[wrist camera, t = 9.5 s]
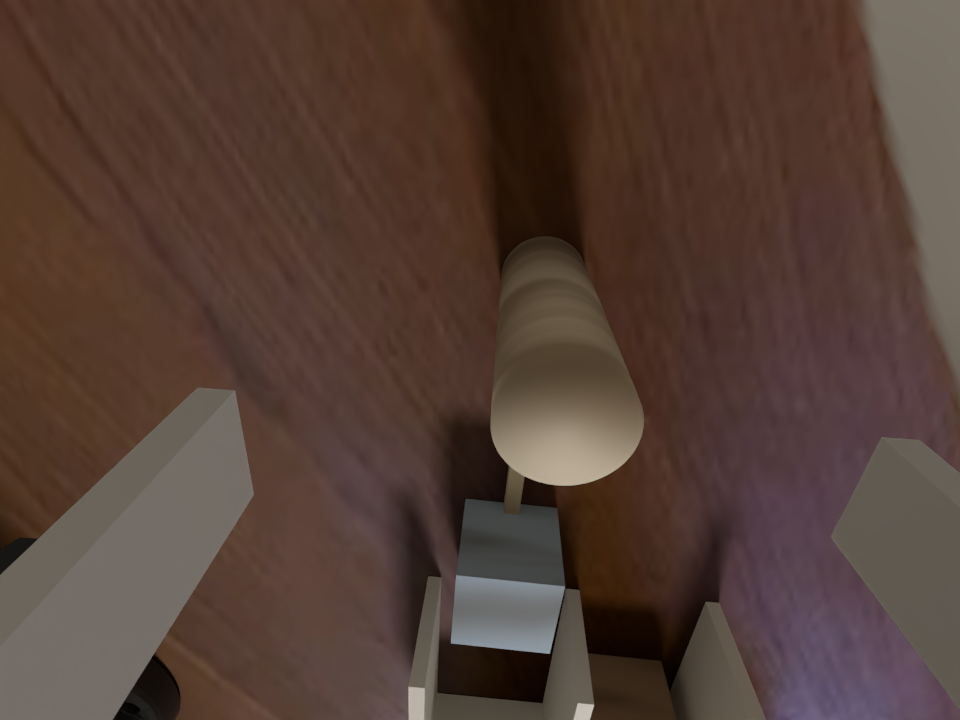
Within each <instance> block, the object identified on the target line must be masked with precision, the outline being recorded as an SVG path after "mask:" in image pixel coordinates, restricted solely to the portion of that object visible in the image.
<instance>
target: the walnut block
mask: <svg viewBox="0 0 960 720" xmlns="http://www.w3.org/2000/svg"><path fill="white" fill-rule="evenodd" d="M588 660H589V668H590V676H591V683H592V691H593V699H594V708H593V711H592V714H591V718H590V720H676V716H675V712H674V708H673V704H672V700H671V696H670V692H669V688H668V684H667V681H666V677H665V673H664V669H663V665H662V661H657V660H647V659H638V658H628V657H618V656H609V655H599V654H590V653H588Z"/></svg>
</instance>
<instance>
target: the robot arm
mask: <svg viewBox="0 0 960 720" xmlns="http://www.w3.org/2000/svg"><path fill="white" fill-rule="evenodd" d="M253 495H254V493H253V487H252V482H251V476H250V471H249V465H248V459H247V454H246V448H245V443H244V437H243V432H242V426H241V421H240V415H239V410H238V404H237V399H236V393H235V390H222V389H208V388H197V389H196V390H195V391H194V392H193V393H191V394H190V395H189V396H188V397H187V398H186V399H185V400H184V401H183V402H182V403H181V404H180V405H179V406H178V407H177V408H176V409H175V410H174V411H173V412H171V413H170V414H169V415H168V416H167V417H166V418H165V419H164V420H163V421H162V422H161V423H160V424H159V425H158V426H157V427H156V428H155V429H154V430H152V431H151V432H150V433H149V434H148V435H147V436H146V437H145V438H144V439H143V440H142V441H141V442H140V443H139V444H138V445H137V446H136V447H135V448H134V449H132V450H131V451H130V452H129V453H128V454H127V455H126V456H125V457H124V458H123V459H122V460H121V461H120V462H119V463H118V464H117V465H116V466H115V467H113V468H112V469H111V470H110V471H109V472H108V473H107V474H106V475H105V476H104V477H103V478H102V479H101V480H100V481H99V482H98V483H97V484H96V485H94V486H93V487H92V488H91V489H90V490H89V491H88V492H87V493H86V494H85V495H84V496H83V497H82V498H81V499H80V500H79V501H78V502H77V503H76V504H74V505H73V506H72V507H71V508H70V509H69V510H68V511H67V512H66V513H65V514H64V515H63V516H62V517H61V518H60V519H59V520H58V521H57V522H55V523H54V524H53V525H52V526H51V527H50V528H49V529H48V530H47V531H46V532H45V533H44V534H43V535H42V536H41V537H40V538H39V539H33V538H19V539H17V540H15V541H13V542H12V543H10V544H8V545H7V546H5V547H3V548H2V549H0V720H175V719H176V717H177V715H178V713H179V709H180V697H179V693H178V690H177V688H176V686H175V684H174V682H173V680H172V679H171V677H170V676H169V675H168V674H167V672H166V671H165V670H164V669H163V668H162V667H161V666H160V665H159V664H158V663H157V662H156V661H155V660H153V659H152V656H153V655H154V653H155V651H156V650H157V648H158V647H159V645H160V643H161V642H162V640H163V639H164V637H165V635H166V634H167V632H168V631H169V629H170V627H171V626H172V624H173V623H174V621H175V620H176V618H177V616H178V615H179V613H180V612H181V610H182V608H183V607H184V605H185V604H186V602H187V600H188V599H189V597H190V596H191V594H192V592H193V591H194V589H195V588H196V586H197V584H198V583H199V581H200V580H201V578H202V576H203V575H204V573H205V572H206V570H207V569H208V567H209V565H210V564H211V562H212V561H213V559H214V557H215V556H216V554H217V553H218V551H219V549H220V548H221V546H222V545H223V543H224V541H225V540H226V538H227V537H228V535H229V533H230V532H231V530H232V529H233V527H234V525H235V524H236V522H237V521H238V519H239V518H240V516H241V514H242V513H243V511H244V510H245V508H246V506H247V505H248V503H249V502H250V500H251V498H252V497H253ZM831 538H832V540H833V541H834V542H835V544H836V545H837V546H838V548H839V549H840V550H841V552H842V553H843V554H844V556H845V557H846V558H847V560H848V561H849V562H850V564H851V565H852V566H853V568H854V569H855V570H856V572H857V573H858V574H859V576H860V577H861V578H862V580H863V581H864V582H865V584H866V585H867V586H868V588H869V589H870V590H871V592H872V593H873V594H874V596H875V597H876V598H877V600H878V601H879V602H880V604H881V605H882V606H883V608H884V609H885V611H886V612H887V613H888V615H889V616H890V617H891V619H892V620H893V621H894V623H895V624H896V625H897V627H898V628H899V629H900V631H901V632H902V633H903V635H904V636H905V637H906V639H907V640H908V641H909V643H910V644H911V645H912V647H913V648H914V649H915V651H916V652H917V653H918V655H919V656H920V657H921V659H922V660H923V661H924V663H925V664H926V665H927V667H928V668H929V669H930V671H931V672H932V673H933V675H934V676H935V677H936V679H937V680H938V681H939V683H940V684H941V685H942V687H943V688H944V689H945V691H946V692H947V693H948V695H949V696H950V697H951V699H952V700H953V701H954V703H955V704H956V705H957V707H958V708H959V709H960V473H959V472H958V471H957V470H955V469H954V468H953V467H952V466H950V465H949V464H948V463H947V462H946V461H944V460H943V459H942V458H941V457H939V456H938V455H937V454H936V453H935V452H933V451H932V450H931V449H930V448H928V447H927V446H926V445H925V444H924V443H922V442H921V441H920V440H911V439H897V438H884V437H881V439H880V441H879V443H878V445H877V447H876V449H875V451H874V453H873V455H872V457H871V459H870V461H869V463H868V465H867V467H866V469H865V471H864V473H863V474H862V476H861V478H860V480H859V482H858V484H857V486H856V488H855V490H854V492H853V494H852V496H851V498H850V500H849V502H848V504H847V506H846V508H845V510H844V512H843V514H842V516H841V518H840V520H839V522H838V524H837V526H836V528H835V530H834V532H833V534H832V535H831Z"/></svg>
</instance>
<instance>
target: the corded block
mask: <svg viewBox="0 0 960 720" xmlns="http://www.w3.org/2000/svg"><path fill="white" fill-rule="evenodd" d="M643 427H644V416H643V409H642V406H641V402H640V400H639V397H638V395H637V392H636V390H635V387H634V385H633V382H632V380H631V377H630V375H629V373H628V370H627V368H626V365H625V363H624V360H623V358H622V355H621V353H620V350H619V348H618V345H617V343H616V341H615V338H614V336H613V333H612V331H611V328H610V326H609V323H608V321H607V318H606V316H605V313H604V311H603V309H602V306H601V304H600V301H599V299H598V296H597V294H596V291H595V289H594V286H593V284H592V281H591V279H590V277H589V274H588V272H587V269H586V267H585V264H584V262H583V260H582V257H581V256H580V254H579V253H578V251H577V250H576V249H575V248H574V247H573V246H572V245H571V244H569V243H567V242H566V241H564V240H562V239H559V238H556V237H551V236H539V237H534V238H531V239H528V240H526V241H524V242H522V243H520V244H519V245H518V246H516V247H515V248H514V249H513V250H512V251H511V252H510V254H509V255H508V256H507V258H506V260H505V262H504V264H503V268H502V272H501V284H500V297H499V311H498V325H497V339H496V353H495V366H494V380H493V394H492V408H491V425H490V428H491V436H492V439H493V443H494V445H495V447H496V449H497V451H498V453H499V454H500V456H501V457H502V459H503V460H504V461H505V462H506V463H507V464H508V465H509V468H508V476H507V483H506V491H505V499H504V503H503V502H494V501H484V500H474V499H465V507H464V516H463V524H462V532H461V540H460V549H459V557H458V565H457V574H456V585H455V597H454V610H453V622H452V634H451V643H452V644H461V645H471V646H480V647H489V648H499V649H508V650H518V651H527V652H537V653H546V654H550V651H551V647H552V642H553V638H554V633H555V629H556V625H557V620H558V616H559V612H560V607H561V603H562V599H563V594H564V590H565V579H564V569H563V559H562V550H561V540H560V530H559V521H558V511H557V508H553V507H543V506H533V505H523V504H520V503H521V497H522V490H523V484H524V477H527V478H529V479H532V480H534V481H537V482H541V483H545V484H550V485H560V486H568V485H579V484H584V483H588V482H592V481H595V480H597V479H600V478H602V477H604V476H606V475H608V474H610V473H612V472H613V471H615V470H616V469H618V468H619V467H620V466H621V465H623V464H624V463H625V462H626V461H627V460H628V459H629V457H630V456H631V455H632V454H633V452H634V451H635V449H636V447H637V445H638V444H639V441H640V439H641V436H642V432H643Z"/></svg>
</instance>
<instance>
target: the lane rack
mask: <svg viewBox="0 0 960 720" xmlns="http://www.w3.org/2000/svg"><path fill="white" fill-rule="evenodd" d="M440 602H441V577H433V576H428V580H427V586H426V591H425V597H424V603H423V608H422V614H421V620H420V625H419V631H418V636H417V642H416V648H415V653H414V659H413V665H412V670H411V676H410V681H409V720H590V718H591V714H592V711H593V708H594V699H593V691H592V683H591V676H590V668H589V660H588V653H587V645H586V637H585V630H584V622H583V614H582V607H581V599H580V591H579V590H574V589H566V591H565V596H564V601H563V606H562V611H561V615H560V620H559V625H558V630H557V635H556V640H555V645H554V650H553V654H552V659H551V664H550V669H549V674H548V679H547V684H546V689H545V694H544V698H543V703H535V702H525V701H514V700H504V699H494V698H484V697H473V696H463V695H453V694H442V693H437V684H438V656H439V629H440ZM670 696H671V700H672V704H673V708H674V712H675V716H676V720H766V719H765V716H764V714H763V711H762V709H761V706H760V704H759V701H758V699H757V696H756V694H755V691H754V689H753V686H752V684H751V681H750V679H749V676H748V674H747V671H746V669H745V666H744V664H743V661H742V659H741V656H740V654H739V651H738V649H737V646H736V644H735V641H734V639H733V636H732V634H731V631H730V629H729V626H728V624H727V621H726V619H725V616H724V614H723V611H722V609H721V606H720V604H719V603H716V602H705V604H704V607H703V609H702V612H701V614H700V617H699V619H698V622H697V624H696V627H695V629H694V632H693V634H692V637H691V639H690V642H689V644H688V647H687V649H686V652H685V654H684V657H683V659H682V662H681V664H680V667H679V669H678V672H677V674H676V677H675V679H674V682H673V684H672V687H671V689H670Z"/></svg>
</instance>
